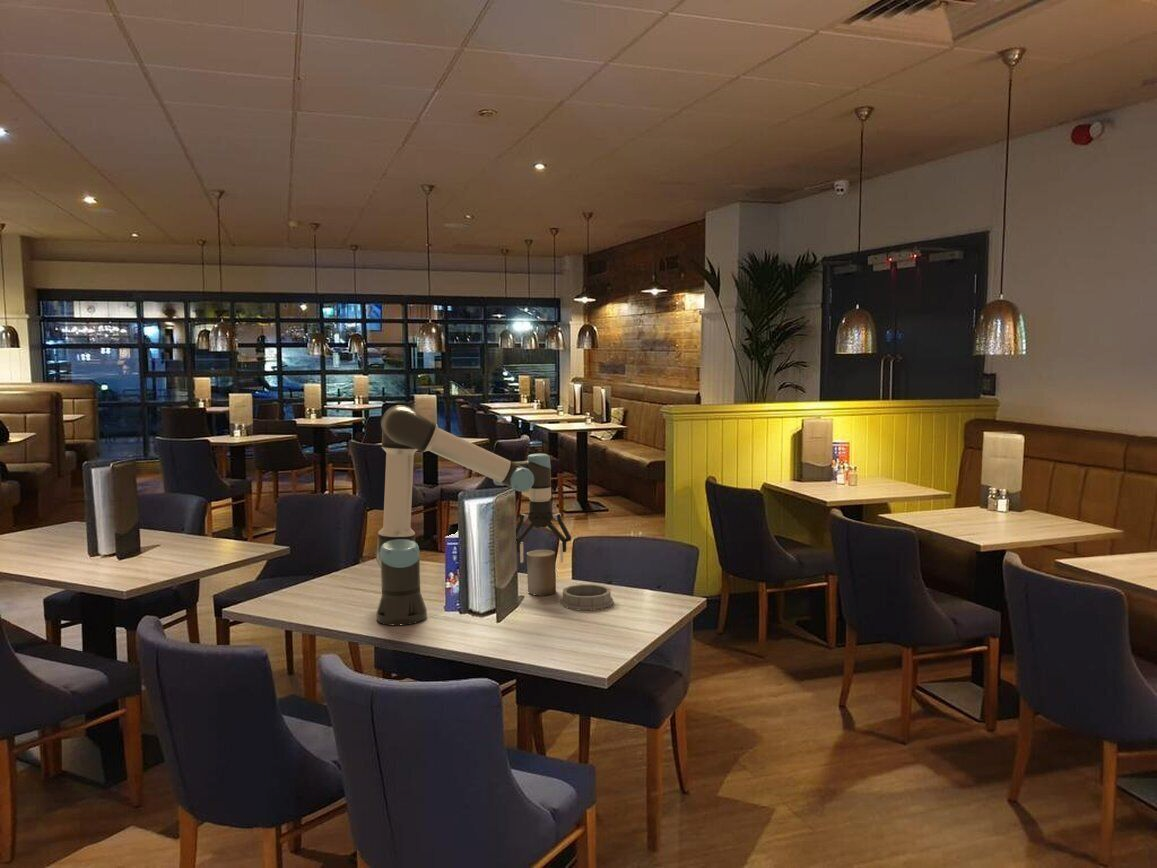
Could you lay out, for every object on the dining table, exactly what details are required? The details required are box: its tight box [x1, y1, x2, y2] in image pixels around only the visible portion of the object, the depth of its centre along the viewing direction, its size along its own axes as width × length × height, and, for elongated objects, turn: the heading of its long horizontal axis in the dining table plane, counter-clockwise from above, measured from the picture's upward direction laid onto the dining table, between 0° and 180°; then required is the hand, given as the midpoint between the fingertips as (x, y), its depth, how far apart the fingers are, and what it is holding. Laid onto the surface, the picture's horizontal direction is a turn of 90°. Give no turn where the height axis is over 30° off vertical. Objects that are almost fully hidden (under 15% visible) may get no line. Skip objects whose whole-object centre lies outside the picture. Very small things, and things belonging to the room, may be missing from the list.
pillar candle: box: [526, 548, 557, 596], centre depth 286 cm, size 10×10×15 cm
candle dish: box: [560, 583, 614, 611], centre depth 273 cm, size 17×17×4 cm
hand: (542, 561), depth 286 cm, fingers open, 13 cm apart
